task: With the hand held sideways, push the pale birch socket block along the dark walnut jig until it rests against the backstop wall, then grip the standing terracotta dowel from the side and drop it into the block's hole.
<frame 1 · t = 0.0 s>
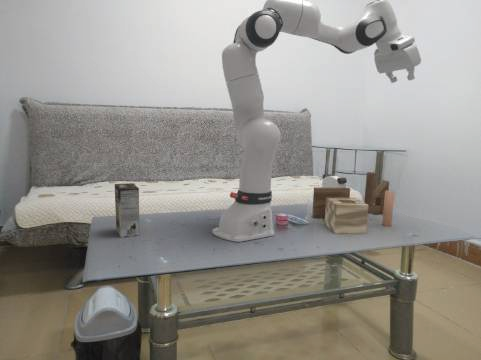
hand: (402, 80, 135), 54 cm above the table, tool tilted 30°, fingers open, 8 cm apart
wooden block: (373, 213, 158), on the table
socket block: (345, 215, 130), point 6 cm above the table, slide at 0.0 cm
panda figurine: (331, 209, 164), on the table
dowel: (386, 227, 137), on the table
jig: (344, 231, 131), on the table
coffee box: (127, 233, 123), on the table
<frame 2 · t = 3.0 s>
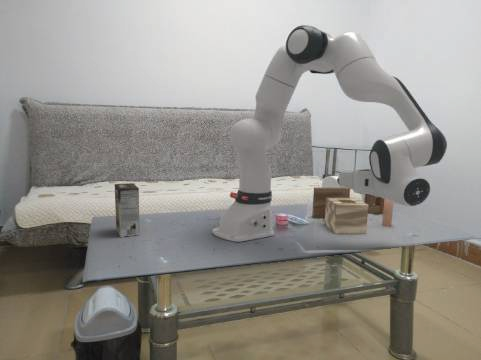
hand: (362, 175, 117), 22 cm above the table, tool horizontal, fingers open, 8 cm apart
nothing on the table moved.
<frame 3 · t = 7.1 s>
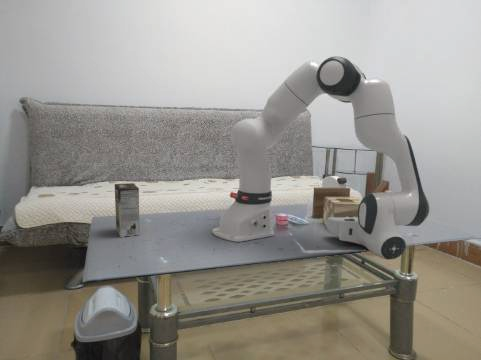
hand: (349, 218, 126), 6 cm above the table, tool horizontal, fingers closed, pressing on socket block
socket block: (343, 213, 131), point 6 cm above the table, slide at 1.7 cm, touching gripper
everything else where it was.
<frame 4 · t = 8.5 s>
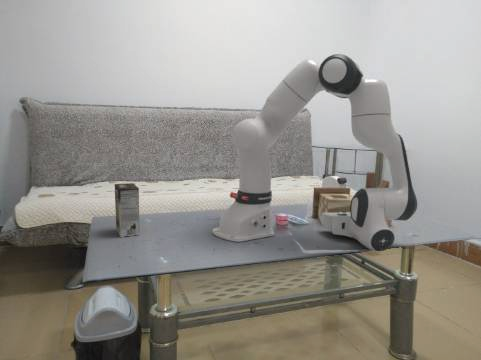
hand: (342, 213, 132), 6 cm above the table, tool horizontal, fingers closed, pressing on socket block
socket block: (337, 209, 137), point 6 cm above the table, slide at 7.8 cm, touching gripper
everything else where it was.
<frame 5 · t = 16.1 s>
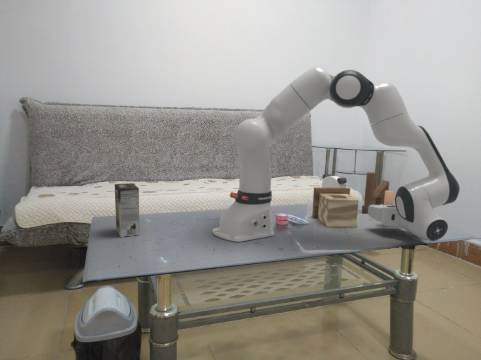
hand: (387, 206, 136), 8 cm above the table, tool horizontal, fingers closed on dowel, 3 cm apart
socket block: (337, 209, 137), point 6 cm above the table, slide at 7.9 cm
dowel: (386, 227, 137), on the table, touching gripper
everything else where it was.
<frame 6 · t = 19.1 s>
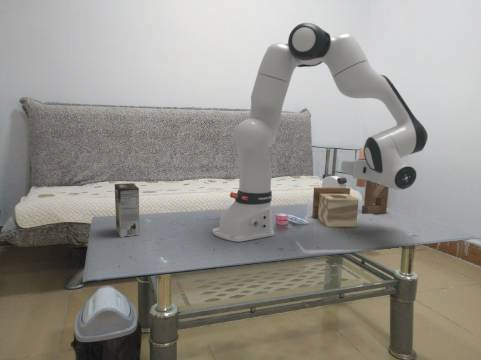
hand: (361, 164, 135), 23 cm above the table, tool horizontal, fingers closed on dowel, 3 cm apart
dowel: (360, 186, 135), point 15 cm above the table, touching gripper
everything else where it was.
when the fingers open (15 cm above the table, at t = 22.2 s): dowel stays where it is, resting on socket block.
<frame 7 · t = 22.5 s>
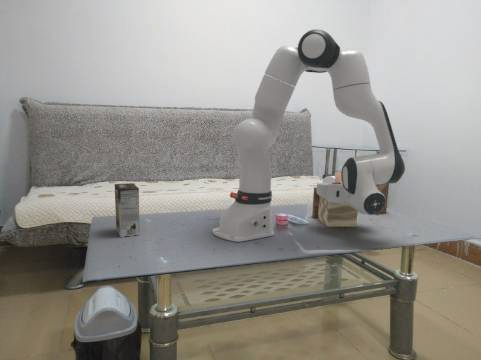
hand: (337, 185, 137), 15 cm above the table, tool horizontal, fingers open, 6 cm apart
socket block: (337, 209, 137), point 6 cm above the table, slide at 7.9 cm, touching dowel
dowel: (337, 209, 138), point 6 cm above the table, touching socket block
everything else where it was.
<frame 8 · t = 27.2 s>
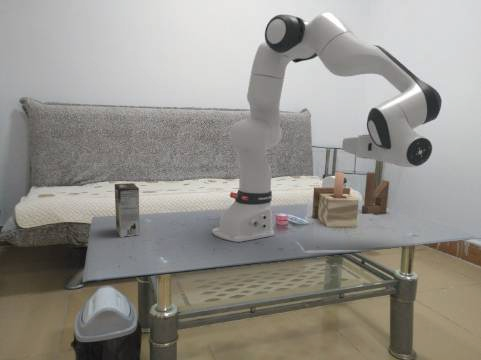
hand: (365, 143, 118), 32 cm above the table, tool horizontal, fingers open, 8 cm apart
nothing on the table moved.
at the end: socket block slide at 7.9 cm; dowel 0.0 cm from the target spot, point 6.1 cm above the table; dowel tilted 0° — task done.
